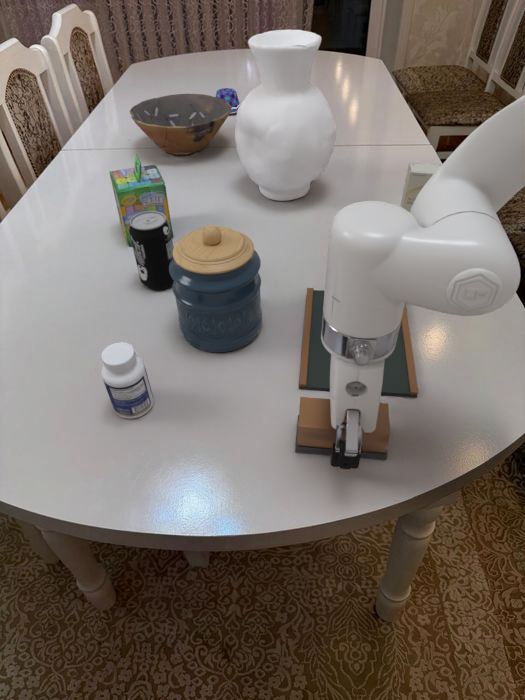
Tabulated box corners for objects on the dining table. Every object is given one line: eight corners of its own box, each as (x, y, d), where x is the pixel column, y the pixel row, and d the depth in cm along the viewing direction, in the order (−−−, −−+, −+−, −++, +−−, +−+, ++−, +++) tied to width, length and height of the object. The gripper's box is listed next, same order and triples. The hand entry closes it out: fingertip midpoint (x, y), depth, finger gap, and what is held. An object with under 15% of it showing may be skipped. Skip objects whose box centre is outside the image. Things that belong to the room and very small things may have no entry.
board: (403, 297, 83) (404, 292, 82) (417, 397, 67) (418, 392, 66) (307, 292, 84) (307, 287, 84) (298, 388, 69) (298, 384, 68)
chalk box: (120, 225, 102) (103, 153, 92) (165, 216, 104) (152, 145, 94) (128, 248, 96) (110, 173, 85) (174, 238, 98) (162, 165, 87)
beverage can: (133, 281, 88) (118, 220, 79) (162, 265, 91) (151, 205, 83) (157, 296, 84) (143, 234, 76) (186, 279, 88) (176, 218, 79)
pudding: (210, 117, 146) (208, 98, 142) (205, 104, 154) (203, 86, 151) (250, 114, 147) (249, 95, 144) (243, 101, 156) (242, 83, 152)
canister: (219, 291, 85) (209, 194, 73) (279, 321, 79) (279, 221, 67) (163, 330, 78) (141, 231, 66) (223, 367, 72) (212, 265, 60)
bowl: (251, 152, 127) (249, 111, 120) (164, 177, 117) (156, 134, 111) (202, 123, 142) (199, 86, 135) (122, 144, 133) (113, 104, 126)
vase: (279, 163, 122) (279, 19, 101) (348, 191, 110) (364, 35, 90) (222, 189, 112) (209, 36, 92) (291, 222, 101) (294, 56, 80)
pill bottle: (119, 389, 69) (102, 337, 62) (157, 389, 69) (144, 337, 62) (109, 419, 65) (89, 368, 59) (149, 420, 65) (135, 368, 58)
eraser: (383, 427, 64) (389, 402, 60) (385, 460, 60) (392, 435, 57) (297, 420, 65) (298, 395, 61) (295, 452, 61) (296, 427, 58)
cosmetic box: (397, 232, 98) (408, 172, 89) (397, 220, 101) (407, 162, 92) (430, 234, 97) (445, 174, 88) (428, 222, 100) (442, 163, 92)
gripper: (406, 396, 43) (378, 498, 55) (392, 278, 55) (372, 382, 67) (318, 389, 43) (310, 491, 55) (324, 275, 56) (316, 378, 68)
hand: (344, 431), depth 61 cm, fingers open, 9 cm apart
